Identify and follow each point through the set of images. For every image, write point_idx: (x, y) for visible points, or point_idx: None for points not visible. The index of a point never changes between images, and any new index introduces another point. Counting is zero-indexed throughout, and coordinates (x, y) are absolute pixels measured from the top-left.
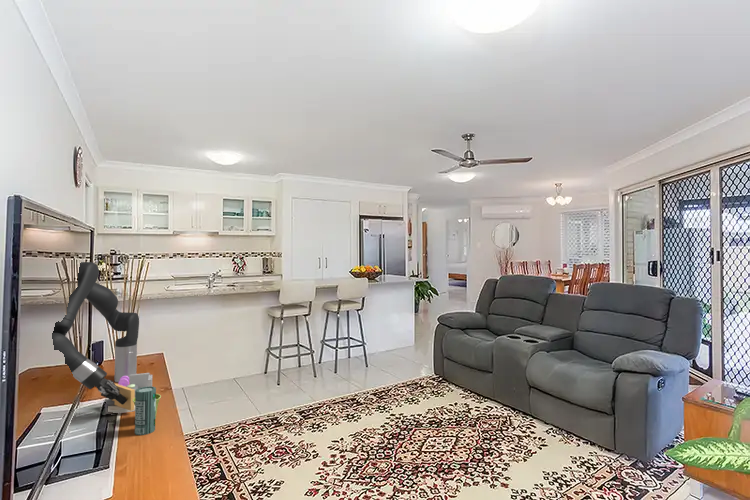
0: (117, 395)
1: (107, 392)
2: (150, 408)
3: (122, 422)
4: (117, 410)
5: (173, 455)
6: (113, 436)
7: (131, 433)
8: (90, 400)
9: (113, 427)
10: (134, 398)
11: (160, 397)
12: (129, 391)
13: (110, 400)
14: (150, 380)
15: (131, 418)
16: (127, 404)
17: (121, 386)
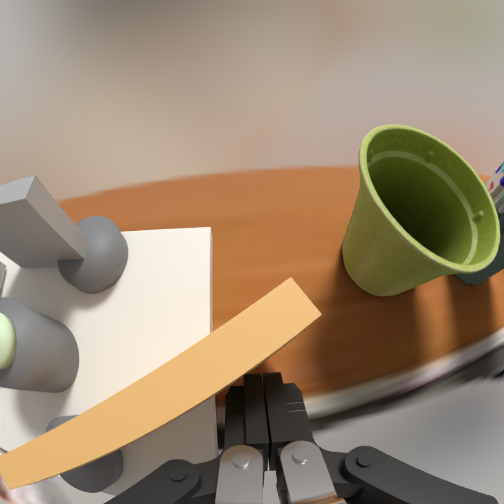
0: (328, 454)
1: (473, 501)
2: None
3: (375, 370)
4: (215, 431)
5: None
6: (487, 354)
7: (476, 295)
8: (7, 494)
9: (420, 392)
10: (454, 263)
11: (422, 131)
12: (286, 341)
13: (89, 471)
14: (35, 185)
15: (332, 336)
16: (251, 370)
17: (83, 439)
